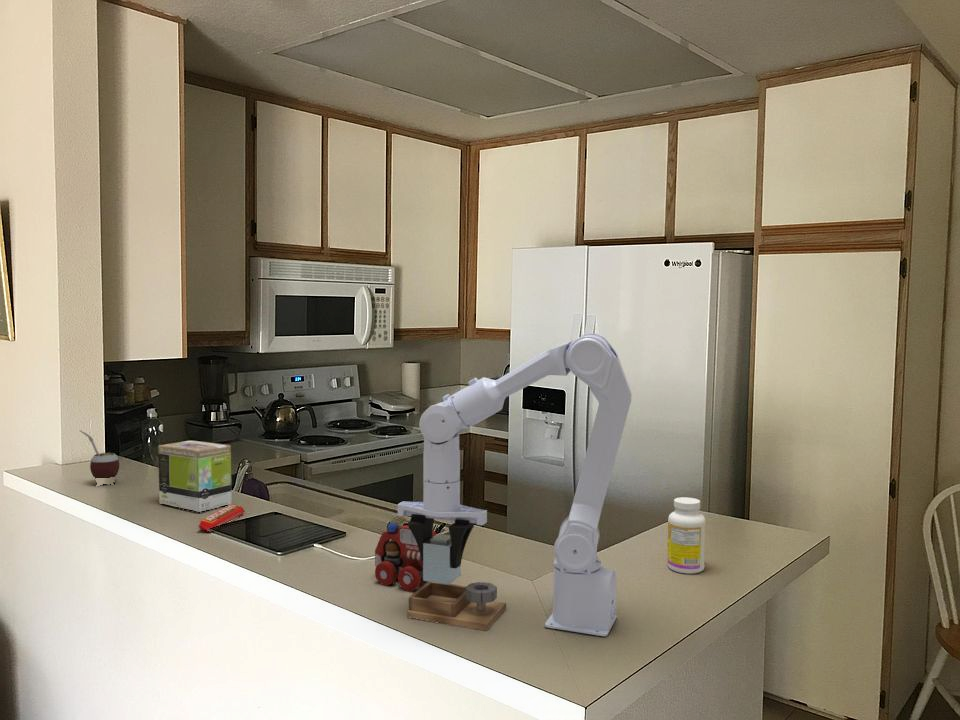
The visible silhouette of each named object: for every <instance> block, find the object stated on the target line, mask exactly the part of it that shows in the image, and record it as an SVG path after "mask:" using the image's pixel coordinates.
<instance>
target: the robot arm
mask: <svg viewBox="0 0 960 720" xmlns="http://www.w3.org/2000/svg"><path fill="white" fill-rule="evenodd" d="M569 373H572V374H573V375H574V376H575V377H577V378H578V379H579V380H580V381H581V382H583V383H585V384H586V385H587V386H588V388H589V390H590V392H592V395H593V396H594V397H595V399H596V401H597V402H598V407H597V411H596V414H595V419H594V422H593V426H592V429H591V433H590V437H589V440H588V445H587V447H586V452H585V455H584V460H583V463H582V466H581V470H580V474H579V479H578V483H577V486H576V489H575V493H574V496H573V500H572V503H571V504H572V505H571V508H570V511H569V515H568V516H567V517H566V518H565V519H564V520H563V522H562V523H561V525H560V527H559V534H558V537H557V538H556V540H555V542H554V544H553V545H554V546H553V553H554V559H553V577H552V578H553V584H552V586H553V587H552V588H553V589H552V613H551V615H550V616H549V617H548V619H547V620H546V621H545V623H544V627H545V628H548V629H549V628H550V629H554V630H555V629H556V630H561V631H568V632H575V633H580V634H587V635H592V636H593V635H594V636H597V637H599V636H601V637H607V636H608V635H609V633H610V631H611V629H612V627H613V625H614V623H615V621H616V620H617V617H618V616H617V572H616V570H615V569H611V568H607V567H605V566H603V565H602V561H601V560H600V559H599V557H598V555H597V554H598V549H597V548H598V544H599V542H600V529H599V522H600V518H601V513H602V509H603V506H604V502H605V500H606V499H605V498H606V494H607V491H608V487H609V483H610V481H611V477H612V473H613V469H614V465H615V462H616V458H617V455H618V451H619V447H620V444H621V441H622V440H621V438H622V436H623V432H624V429H625V426H626V422H627V419H628V418H627V417H628V413H629V410H630V408H631V407H630V406H631V403H632V397H633V395H632V391H631V387H630V385H629V382H628V379H627V376H626V373H625V371H624V368H623V366H622V363H621V360H620V357H619V354H618V352H617V350H615V348H614V347H613V346H612V345H611V343H610V342H609V341H608V339H606V338H605V337H604V336H603V335H600V334H597V333H586V334H583V335H582V336H581V335H580V336H579V337H578V338H576V339H575V340H574V341H573V340H569V341H566V342H564V343H561V344H558V345H556V346H553V347H551V348H549V349H547V350H544V351H543V352H541V353H540V354H538V355H536V356H535V357H532V358H531V359H529V360H527V361H526V362H524V363H523V364H521V365H519V366H518V367H516V368H514V369H512V370H511V371H509V372H508V373H506V374H504V375H502V376H500V377H499V378H498V379H493V378H492V379H491V378H488V377H484V376H483V377H481V378H480V379H478V378H477V377H474V378H471V380H468V382H467V383H468V385H467V386H465V387H464V388H462V389H460V390H459V391H456V392H454V393H453V394H452V395H450V393H448V394H445V395H444V396H442V400H443V401H442V402H438V403H436V404H433V405H429V407H428V408H426V409H425V411H424V412H423V413H422V414H421V416H420V419H419V422H418V425H419V431H420V432H421V435H422V437H423V453H422V454H423V455H422V456H423V457H422V458H423V460H422V461H423V466H422V467H423V475H422V476H423V477H422V478H423V479H422V480H423V492H422V493H423V499H422V501H405V500H404V501H401V502H399V503H398V504H397V517H405V516H406V517H408V516H409V517H410V520H409V521H407V526H408V527H409V529H410V530H411V532H412V534H413V536H414V538H415V540H416V542H417V545H418V548H419V551H420V555H421V560H422V564H423V543H424V542H426V541H427V540H429V539H430V538H432V531H433V530H434V525H435V523H434V522H435V520H444V521H453V522H454V523H452V524H450V525H449V526H448V531H449V535H450V537H451V546H452V557H451V562H452V568H455V569H456V568H458V567H459V566H460V565H462V560H463V555H464V552H465V548H466V544H467V542H468V540H469V537H470V535H471V532H472V530H473V528H474V526H475V525H477V526H484V525H485V524H486V523H487V522H488V510H487V509H481V508H476V507H471V506H467V505H463V504H461V502H460V501H461V498H460V497H461V495H460V494H461V450H460V433H461V432H462V431H463V429H470V428H471V427H474V426H475V425H477V424H478V423H480V422H483V421H484V420H486V419H488V418H489V417H492V416H493V415H495V414H496V413H498V412H501V411H502V410H503V407H504V403H505V400H506V398H508V397H509V396H511V395H513V394H516V393H517V392H519V391H521V390H523V389H525V388H527V387H529V386H530V385H532V384H534V383H536V382H538V381H541V380H542V379H544V378H546V377H548V376H562V377H563V376H565V377H566V376H568V375H569Z"/></svg>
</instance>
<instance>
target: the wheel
mask: <svg viewBox="0 0 960 720" xmlns="http://www.w3.org/2000/svg"><path fill="white" fill-rule="evenodd" d="M466 586H467V587H466V599H467V600H468V601H469V602H473V603H480V604H481V603H482V604H484V603H490V602H492V601H496V600H497V598H498V587H497V586H496V585H495V584H494V583H491V582H487V581H486V582H485V581H478V582H471V583H469V584H468V585H466Z"/></svg>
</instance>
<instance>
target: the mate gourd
mask: <svg viewBox="0 0 960 720" xmlns="http://www.w3.org/2000/svg"><path fill="white" fill-rule="evenodd" d="M79 432H80V433H82V434H83V435H84V436H86V437H87V438H88V440H89V442H90V443H91V445H92V448H93V450H94V452H95V454H94V455H93V456H92V458H91V460H90V465H89V467H90V471H91V475H92V477H93V478H94V477H95V478H110V477H115V476H116V477H117V475H118V473H119V470H120V460H119V457H118V455H117V454H116V453H115V452H114V453H113V452H102V453H101V452H100V453H99V451H98V448H97V446H96V444H95V442H94V439H93V436H91V435H90V434H88V433H86V432H85V431H83V430H79ZM116 477H115V478H116ZM95 478H94V479H95Z"/></svg>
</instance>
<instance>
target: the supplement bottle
mask: <svg viewBox="0 0 960 720" xmlns="http://www.w3.org/2000/svg"><path fill="white" fill-rule="evenodd" d="M673 506H674V511H672V512H671V513H670V514H669V515H668V518H667V519H668V520H667V566H668V568H669V569H670V570H672V571H674V572H677V573H682V574H688V575H689V574H690V575H691V574H697V573H702V572H703V570H704V569H705V567H706V566H705V565H706V563H705V562H706V560H705V559H706V558H705V557H706V518H705V516H704V515H703V514H702V513H700V509H701V500H700V499H698V498H694V497H686V496H684V497H683V496H681V497H676V498H674V499H673Z"/></svg>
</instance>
